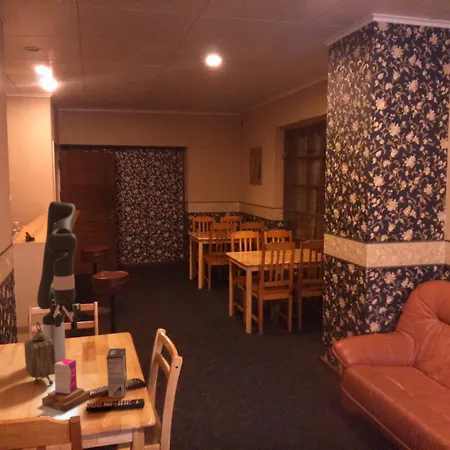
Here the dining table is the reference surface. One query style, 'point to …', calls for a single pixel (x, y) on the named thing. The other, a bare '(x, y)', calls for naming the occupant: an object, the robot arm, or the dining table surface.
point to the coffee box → (117, 372)
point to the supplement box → (65, 376)
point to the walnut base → (65, 405)
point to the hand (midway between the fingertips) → (66, 328)
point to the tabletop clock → (40, 356)
